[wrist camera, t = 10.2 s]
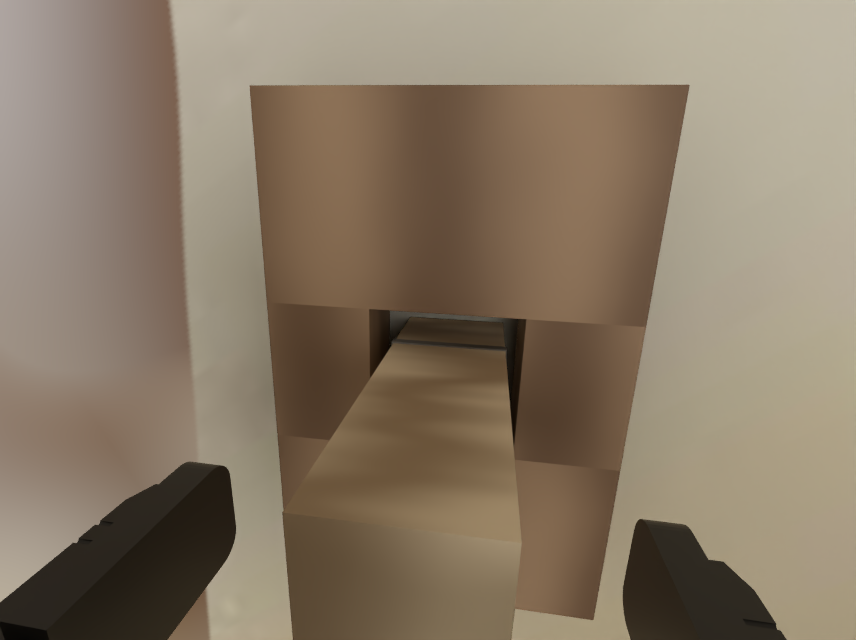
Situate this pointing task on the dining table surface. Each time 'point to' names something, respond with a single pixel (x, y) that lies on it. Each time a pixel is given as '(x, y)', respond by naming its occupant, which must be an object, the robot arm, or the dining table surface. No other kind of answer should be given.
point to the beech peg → (413, 499)
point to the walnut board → (473, 272)
